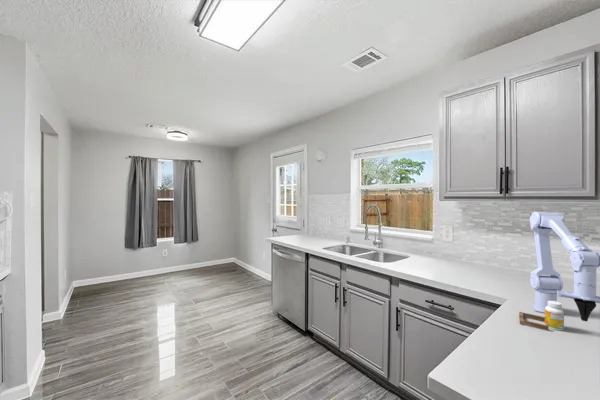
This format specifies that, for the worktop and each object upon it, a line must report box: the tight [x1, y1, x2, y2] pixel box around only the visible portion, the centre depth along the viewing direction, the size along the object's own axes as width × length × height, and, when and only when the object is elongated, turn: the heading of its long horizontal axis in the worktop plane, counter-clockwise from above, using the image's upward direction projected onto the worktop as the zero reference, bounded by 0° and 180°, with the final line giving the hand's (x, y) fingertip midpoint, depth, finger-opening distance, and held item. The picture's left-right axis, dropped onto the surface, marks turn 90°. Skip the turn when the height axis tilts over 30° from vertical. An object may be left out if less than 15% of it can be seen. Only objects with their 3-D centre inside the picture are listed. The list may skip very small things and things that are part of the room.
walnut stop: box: [518, 311, 550, 331], centre depth 108 cm, size 10×8×2 cm
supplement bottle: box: [544, 301, 565, 331], centre depth 104 cm, size 5×5×10 cm
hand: (584, 320), depth 99 cm, fingers closed
